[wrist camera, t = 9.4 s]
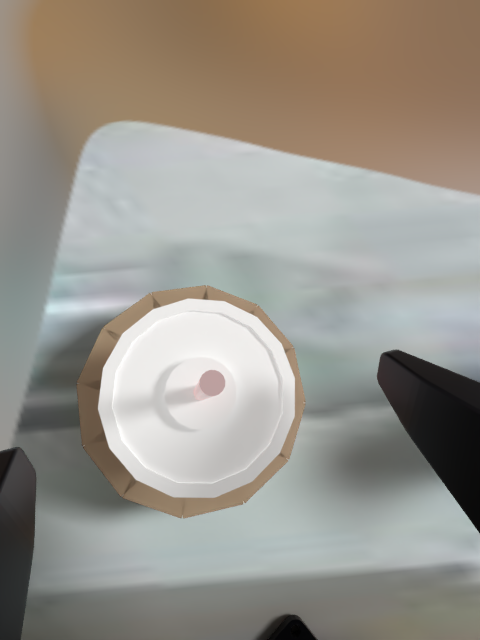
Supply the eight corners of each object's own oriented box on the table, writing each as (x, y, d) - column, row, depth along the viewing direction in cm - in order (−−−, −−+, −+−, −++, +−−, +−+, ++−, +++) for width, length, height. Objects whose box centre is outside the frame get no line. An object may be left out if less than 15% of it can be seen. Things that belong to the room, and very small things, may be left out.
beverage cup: (130, 350, 20) (22, 239, 7) (240, 336, 21) (336, 215, 8) (142, 468, 19) (37, 619, 6) (257, 447, 20) (407, 530, 7)
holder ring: (178, 540, 19) (176, 569, 15) (57, 384, 19) (30, 379, 16) (318, 406, 21) (344, 406, 18) (206, 273, 22) (210, 249, 19)
